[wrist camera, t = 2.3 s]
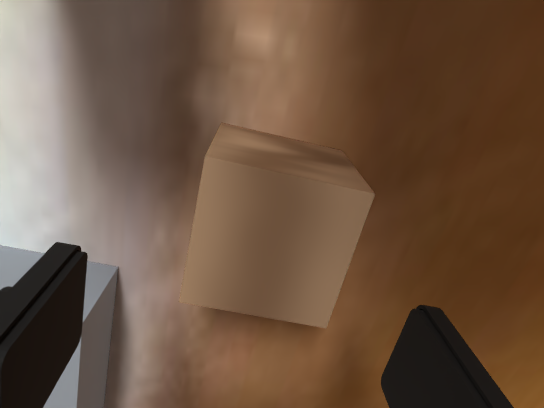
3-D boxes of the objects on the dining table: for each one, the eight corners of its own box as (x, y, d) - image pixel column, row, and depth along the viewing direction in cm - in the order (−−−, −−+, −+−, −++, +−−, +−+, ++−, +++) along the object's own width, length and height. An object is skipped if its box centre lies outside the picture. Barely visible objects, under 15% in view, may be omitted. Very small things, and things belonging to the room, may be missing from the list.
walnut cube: (341, 150, 19) (374, 193, 14) (309, 254, 21) (326, 328, 16) (221, 122, 18) (205, 156, 13) (200, 232, 21) (178, 302, 15)
